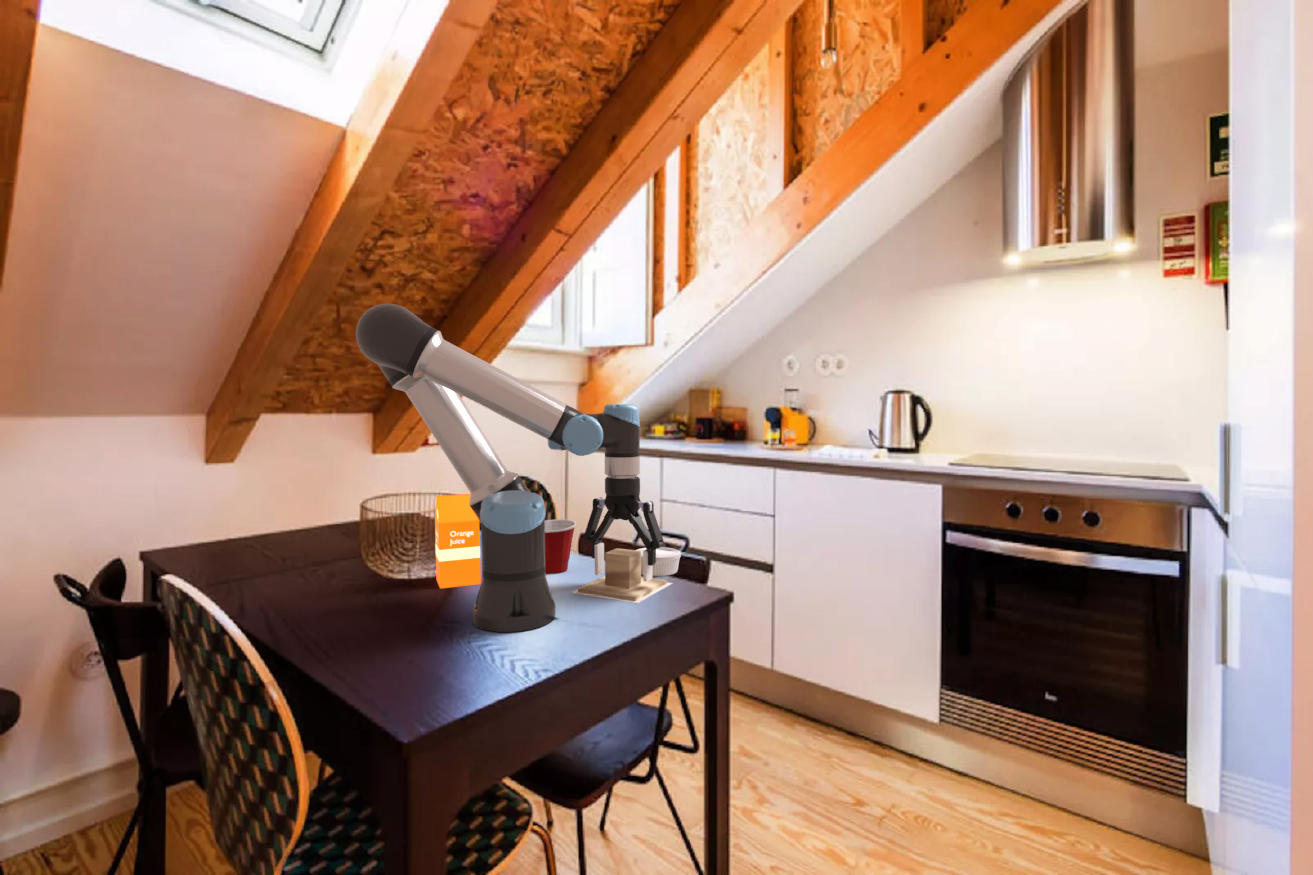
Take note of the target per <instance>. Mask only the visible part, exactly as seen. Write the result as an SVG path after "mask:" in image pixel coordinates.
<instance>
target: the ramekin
mask: <svg viewBox="0 0 1313 875" xmlns="http://www.w3.org/2000/svg"><path fill="white" fill-rule="evenodd" d="M635 550H636V551H641V575H643V551H644V550H646V547H642V548H641V547H640V548H638V549H635ZM681 557H682V553H681V551H680V550H679V549H676V548H672V547H664V546H662V547H660V548H658V549H656V563H655V564H654V565H652V569H653V577H662V576H663V577H665V576H671V575H674V574H676V573H678V570H679V563H680V558H681Z"/></svg>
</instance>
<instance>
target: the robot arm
mask: <svg viewBox="0 0 1313 875" xmlns="http://www.w3.org/2000/svg"><path fill="white" fill-rule="evenodd" d="M355 338H356V339H355V340H356V343H357V346H358V348H359V350H360V352H361V353H362V354H363V355H364V357H365V358H367V359H368V360H370V361H371V362H372V363H374V364H376V365H377V366H378V367H379V369H380V370H381V373H383V375H384V377H385V378H386V379H387V381H388V382H389V384H390V386H391V387H392V389H393V390H394V389H395V390H397V391H402V392H404V393H405V394H406V396H407V397H408V399H409V400H410V401H411V404H412V405H413V406H414V408H415V409H416V411H417V412H418V414H419V417H421V419H422V420H423V422H424V423H425V425H426V427H427V428H428V429H429V431H430V433H431V434H432V436H433V437H434V439H435V441H436V442H437V443H438V445H439V446H440V448H441V450H442V452H443V453H444V454H445V456H446V457H447V458H448V460H449V463H451V465H452V467H453V468H454V470H455V471H456V473H457V475H458V476H459V478H460V479H461V481H462V482H463V483H464V485H465V487H466V488H467V490H468V491H469V494H471V496H470V500H469V505H470V507H471V509H472V510H473V512H474V513H475V515H476V516H477V518H478V519H479V524H480V528H481V529H480V530H481V532H480V534H481V538H480V542H481V584H480V586H479V590H478V593H477V598H476V602H475V604H474V606H473V610H472V619H473V620H472V622H473V624H474V626H476V627H477V628H479V629H481V630H484V631H489V632H500V633H501V632H502V633H509V632H513V633H514V632H523V631H529V630H533V629H536V628H539V627H540V628H541V627H544V626H545V625H548V624H550V623H551V622H552V621H554V620H555V618H556V603H555V601H554V598H553V596H552V592H551V588H550V585H549V583H548V579H547V576H546V574H545V521H546V514H547V513H546V512H547V511H546V510H547V509H546V507H545V500H544V498H543V497H542V496H541V495H540V494H538V493H536V492H532V491H530V490H529V488H528V486H527V485H526V483H524V481H523V479H522V478H521V476H520V475H519V473H518V472H513V471H509V470H507V468H506V466H505V465H504V463H503V462H502V460H501V459H500V457H499V455H498V454H497V452H496V450H495V449H494V448H493V446H492V444H491V443H490V441H489V439H488V437H487V436H486V435H485V433H484V432H483V430H482V428H481V426H480V425H479V424H478V422H477V420H476V419H475V417H474V416H473V415H472V413H471V411H470V409H469V408H468V407H467V405H466V403H465V401H464V400H463V398H466V399H468V400H469V401H472V402H474V403H476V404H478V405H479V406H482V407H484V408H486V409H488V410H489V411H491V412H493V413H496V414H497V415H499V416H501V417H503V418H505V419H507V420H509V421H511V422H512V423H515V424H517V425H518V426H521V427H523V428H525V429H526V430H529V431H531V432H533V433H535V434H537V435H539V436H540V437H542V438H545V439H546V440H547V447H548V448H549V449H551V450H555V451H557V450H558V451H566V450H567V451H568V452H569V453H572V454H574V455H575V456H579V457H584V456H588V455H591V454H593V453H595V452H596V451H597V450H601V449H603V450H604V474H605V476H606V477H605V479H604V493H605V498H603V497H601V496H600V497H595V498H594V499H592V510H591V513H590V516H589V519H588V522H587V524H586V529H585V532H584V535H583V537H582V538H583V540H584V541H587V542H589V543H590V544H591V558H592V559H594V575H596V576H598V575H601V574H603V573H605V543H604V542H602V541H603V538H604V537H605V535H606V534H607V532H608V530H609V529H610V528H611V525H612V523H613V522H614V520H615V521H616V520H623V521H628V522H629V523H630V524H631V525H632V526H633V528H634V529H635V531H636V534H637V535H638V537H639V539H640V540H641V542H642V543H643V545H644V548H646V550H644V551H643V574H642V575H643V576H642V577H643V581H644V582H647V581H649V580H651V579H653V578H654V576H653V569H652V565H654V564H655V563H656V549H658V548H660V547H664V546H665V541H664V537H663V535H662V532H661V529H660V526H659V523H658V521H657V517H656V513H655V508H654V505H655V504H654V502H653V501H652V500H649V501H641V498H640V494H641V478H640V476H639V475H640V473H641V472H640V471H641V468H640V467H641V466H640V464H641V461H640V460H641V458H640V456H641V454H640V452H641V451H640V441H641V440H640V436H641V435H640V429H641V424H640V423H641V422H640V411H639V407H638V406H637V405H636V404H635V403H634V404H633V403H632V404H630V403H627V404H626V403H625V404H624V403H622V404H621V403H619V404H617V403H615V404H611V403H610V404H608V403H607V404H605V405H604V407H603V412H601V413H584V412H582V411H580V410H578V409H576V408H574V407H573V406H570V405H568V404H566V403H564V402H562V401H561V400H560V399H557V398H555V397H553V396H551V395H549V394H548V393H545V392H544V391H542V390H540V389H538V388H536V387H535V386H532V385H530V384H528V383H527V382H525V381H523V380H521V379H519V378H517V377H516V376H513V375H512V374H509V373H507V372H506V371H504V370H502V369H500V368H498V367H496V366H495V365H493V364H491V363H489V362H487V361H485V360H483V359H481V358H479V357H477V356H475V355H473V354H472V353H470V352H468V351H466V350H464V349H462V348H460V347H458V346H456V345H455V344H453V343H451V342H449V341H448V340H445V339H444V337H443V335H442V332H441V330H438V329H436V328H434V327H432V326H431V325H430V324H428V323H426V322H425V321H423V320H422V319H421V318H420V317H418V316H417V315H415V314H414V313H413V312H412V311H411V310H409V309H407V308H406V307H404V306H401V305H399V304H396V303H395V304H394V303H381V304H376V305H374V306H371V307H370V308H369V309H367V310H365V312H364V313H363V314H362V315H361V317H360V318H359V319H358V322H357V324H356V328H355ZM462 397H463V398H462ZM605 507H606V510H607V512H606V513H605V515H604V516H603V520H601V516H602V514H603V510H604V508H605ZM639 510H641V512H643V517H644V521H645V523H644V521H643V517H642V515H641V513H640V512H639ZM600 520H601V523H600V524H599V522H600Z"/></svg>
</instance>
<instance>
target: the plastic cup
mask: <svg viewBox="0 0 1313 875" xmlns="http://www.w3.org/2000/svg"><path fill="white" fill-rule="evenodd" d="M576 525H577V521H574V520H572V519H564V518H563V519H562V518H561V519H559V518H557V519H556V518H555V519H545V575H546V574H547V575H548V574H550V575H551V574H552V575H554V574H563V573H565V572H567V571H568V568H569V560H570V556H571V550H572V549H571V548H572V543H573V542H572V541H573V537H574V532H575V528H576Z"/></svg>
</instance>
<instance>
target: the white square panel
mask: <svg viewBox="0 0 1313 875" xmlns="http://www.w3.org/2000/svg"><path fill="white" fill-rule="evenodd" d="M671 585H673V582H670V581H669V582H668V581H667V584H665V585H663V586H662V587H660V588H658V589H656V590H655V591H653V592H651V593H649V594H647V595H646V596H644V597H642V598H640V599H638V600H637V601H632V600H626V599H619V598H613V597H607V596H601V595H594V594H588V593H582V592H578V589H576V590H574V591H571V594H577V595H583V596H590V597H597V598H600V599H601V598H603V599H608V600H615V601H620V602H628V603H633V604H639V603H641V602H643V601H644V600H646V599H648V598H650V597H652V596H653V595H655V594H657V593H659V592H660V591H662V590H664V589H666V588H667V587H669V586H671Z"/></svg>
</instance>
